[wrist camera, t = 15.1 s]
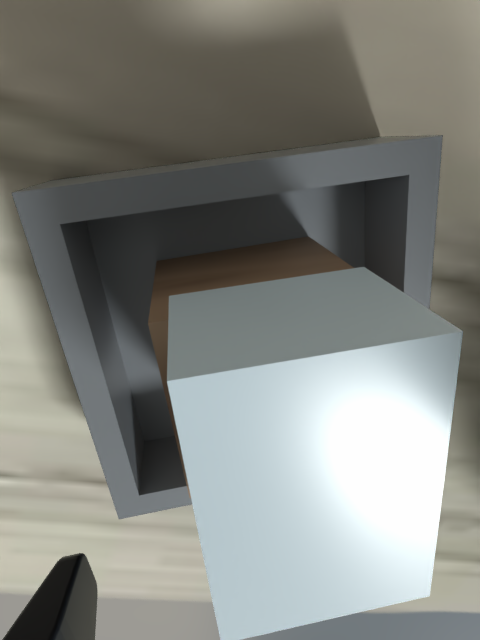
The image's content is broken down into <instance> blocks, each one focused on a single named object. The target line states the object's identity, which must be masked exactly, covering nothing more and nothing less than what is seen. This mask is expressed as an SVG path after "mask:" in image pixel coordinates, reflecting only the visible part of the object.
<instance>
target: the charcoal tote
mask: <svg viewBox="0 0 480 640" xmlns="http://www.w3.org/2000/svg"><path fill="white" fill-rule="evenodd" d="M442 137H443V135H433V136H395V137H377V138H369V139H362V140H354V141H346V142H339V143H331V144H324V145H316V146H309V147H301V148H293V149H286V150H278V151H271V152H263V153H256V154H248V155H241V156H233V157H225V158H218V159H210V160H203V161H195V162H188V163H180V164H172V165H165V166H157V167H150V168H142V169H135V170H127V171H119V172H112V173H104V174H97V175H89V176H82V177H74V178H67V179H59V180H51V181H48V182H45V183H41V184H38V185H35V186H32V187H29V188H25V189H22V190H19V191H16V192H13V193H12V196H13V199H14V202H15V205H16V208H17V211H18V214H19V217H20V220H21V223H22V226H23V229H24V232H25V235H26V238H27V241H28V244H29V247H30V250H31V253H32V256H33V259H34V262H35V266H36V269H37V272H38V275H39V278H40V281H41V284H42V287H43V290H44V293H45V296H46V299H47V302H48V305H49V308H50V311H51V314H52V317H53V320H54V323H55V326H56V329H57V332H58V335H59V338H60V341H61V345H62V348H63V351H64V354H65V357H66V360H67V363H68V366H69V369H70V372H71V375H72V378H73V381H74V384H75V387H76V390H77V393H78V396H79V399H80V402H81V405H82V408H83V411H84V414H85V417H86V420H87V424H88V427H89V430H90V433H91V436H92V439H93V442H94V445H95V448H96V451H97V454H98V457H99V460H100V463H101V466H102V469H103V472H104V475H105V478H106V481H107V484H108V487H109V490H110V493H111V496H112V499H113V503H114V506H115V509H116V512H117V515H118V518H119V519H123V518H128V517H133V516H137V515H142V514H147V513H152V512H157V511H162V510H167V509H171V508H176V507H181V506H186V505H191V504H192V500H191V498H189V494H188V489H187V485H186V481H185V477H184V473H183V468H182V464H181V460H180V456H179V452H178V447H177V443H176V439H175V435H174V430H173V426H172V422H171V418H170V414H169V409H168V405H167V401H166V397H165V393H164V388H163V384H162V380H161V376H160V372H159V367H158V363H157V359H156V355H155V351H154V346H153V342H152V338H151V334H150V329H149V325H148V320H149V313H150V305H151V298H152V291H153V283H154V276H155V269H156V261H159V260H166V259H172V258H178V257H184V256H190V255H197V254H203V253H209V252H215V251H222V250H228V249H234V248H240V247H246V246H253V245H259V244H265V243H271V242H277V241H284V240H290V239H296V238H302V237H310V238H312V239H313V240H315V241H316V242H317V243H319V244H320V245H322V246H323V247H325V248H326V249H328V250H329V251H330V252H332V253H333V254H335V255H336V256H338V257H339V258H341V259H342V260H343V261H345V262H346V263H348V264H349V265H351V266H352V267H354V268H359V267H365V268H367V269H368V270H370V271H371V272H373V273H374V274H376V275H377V276H379V277H380V278H382V279H383V280H385V281H387V282H388V283H390V284H391V285H393V286H394V287H396V288H397V289H399V290H400V291H402V292H403V293H405V294H407V295H408V296H410V297H411V298H413V299H414V300H416V301H417V302H419V303H420V304H422V305H423V306H425V307H427V308H428V309H429V308H430V295H431V281H432V268H433V255H434V242H435V229H436V216H437V203H438V190H439V177H440V163H441V150H442Z"/></svg>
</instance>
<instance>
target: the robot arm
mask: <svg viewBox="0 0 480 640" xmlns="http://www.w3.org/2000/svg"><path fill="white" fill-rule="evenodd" d="M96 610H97V584H96V580H95V577H94V575H93V572H92V570H91V567H90V565H89V562H88V560H87V557H86V556H85V555H84V554H83V553H79V554H74V555H70V556H65V557H62V558H61V559H60V560H59V561H58V562H57V563H56V564H55V566H54V567H53V569H52V570H51V571H50V573H49V574H48V576H47V577H46V579H45V580H44V581H43V583H42V584H41V586H40V587H39V588H38V590H37V591H36V593H35V594H34V596H33V597H32V599H31V600H30V601H29V603H28V604H27V606H26V607H25V608H24V610H23V611H22V613H21V614H20V615H19V617H18V618H17V620H16V621H15V623H14V624H13V625H12V627H11V628H10V630H9V631H8V632H7V634H6V635H5V637H4V638H3V640H95V627H96Z"/></svg>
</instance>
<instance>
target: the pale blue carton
mask: <svg viewBox="0 0 480 640" xmlns="http://www.w3.org/2000/svg"><path fill="white" fill-rule="evenodd" d="M462 336H463V331H462V330H460V329H459V328H457V327H456V326H454V325H453V324H451V323H450V322H448V321H447V320H445V319H443V318H442V317H440V316H439V315H437V314H436V313H434V312H433V311H431V310H430V309H428V308H427V307H425V306H423V305H422V304H420V303H419V302H417V301H416V300H414V299H413V298H411V297H410V296H408V295H407V294H405V293H403V292H402V291H400V290H399V289H397V288H396V287H394V286H393V285H391V284H390V283H388V282H387V281H385V280H383V279H382V278H380V277H379V276H377V275H376V274H374V273H373V272H371V271H370V270H368V269H367V268H365V267H359V268H352V269H345V270H339V271H332V272H325V273H319V274H312V275H305V276H299V277H292V278H285V279H278V280H272V281H265V282H258V283H252V284H245V285H238V286H232V287H225V288H218V289H212V290H205V291H198V292H191V293H185V294H178V295H171V296H169V316H168V357H167V384H168V389H169V394H170V399H171V403H172V408H173V413H174V418H175V423H176V428H177V432H178V437H179V442H180V447H181V452H182V456H183V461H184V466H185V471H186V476H187V481H188V485H189V490H190V495H191V500H192V505H193V510H194V514H195V519H196V524H197V529H198V534H199V538H200V543H201V548H202V553H203V558H204V563H205V567H206V572H207V577H208V582H209V587H210V592H211V596H212V601H213V606H214V611H215V615H216V620H217V625H218V630H219V635H220V639H221V640H241V639H245V638H249V637H254V636H258V635H263V634H267V633H271V632H276V631H280V630H284V629H289V628H292V627H297V626H302V625H306V624H310V623H315V622H319V621H324V620H328V619H332V618H336V617H341V616H345V615H349V614H354V613H358V612H363V611H367V610H371V609H376V608H380V607H384V606H389V605H393V604H397V603H402V602H406V601H410V600H415V599H419V598H423V597H428V596H430V589H431V581H432V573H433V565H434V557H435V550H436V542H437V534H438V526H439V518H440V510H441V502H442V494H443V486H444V478H445V471H446V463H447V455H448V447H449V439H450V431H451V423H452V415H453V407H454V399H455V392H456V384H457V376H458V368H459V360H460V352H461V344H462Z"/></svg>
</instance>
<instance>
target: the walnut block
mask: <svg viewBox="0 0 480 640" xmlns="http://www.w3.org/2000/svg"><path fill="white" fill-rule="evenodd" d="M352 268H354V267H352V266H351V265H349V264H348V263H346V262H345V261H343V260H342V259H341V258H339V257H338V256H336V255H335V254H333V253H332V252H330V251H329V250H328V249H326V248H325V247H323V246H322V245H320V244H319V243H317V242H316V241H315V240H313V239H312V238H310V237H302V238H296V239H290V240H284V241H277V242H271V243H265V244H259V245H253V246H246V247H240V248H234V249H228V250H222V251H215V252H209V253H203V254H197V255H190V256H184V257H178V258H172V259H166V260H159V261H156V269H155V276H154V283H153V291H152V298H151V305H150V313H149V320H148V325H149V329H150V334H151V338H152V342H153V346H154V351H155V355H156V359H157V363H158V367H159V372H160V376H161V380H162V384H163V388H164V393H165V397H166V401H167V405H168V409H169V414H170V418H171V422H172V426H173V430H174V435H175V439H176V443H177V447H178V452H179V456H180V460H181V464H182V468H183V473H184V477H185V481H186V485H187V489H188V494H189V498H191V495H190V490H189V485H188V481H187V476H186V471H185V466H184V461H183V456H182V452H181V447H180V442H179V437H178V432H177V428H176V423H175V418H174V413H173V408H172V403H171V399H170V394H169V389H168V384H167V357H168V316H169V296H171V295H178V294H185V293H191V292H198V291H205V290H212V289H218V288H225V287H232V286H238V285H245V284H252V283H258V282H265V281H272V280H278V279H285V278H292V277H299V276H305V275H312V274H319V273H325V272H332V271H339V270H345V269H352Z"/></svg>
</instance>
